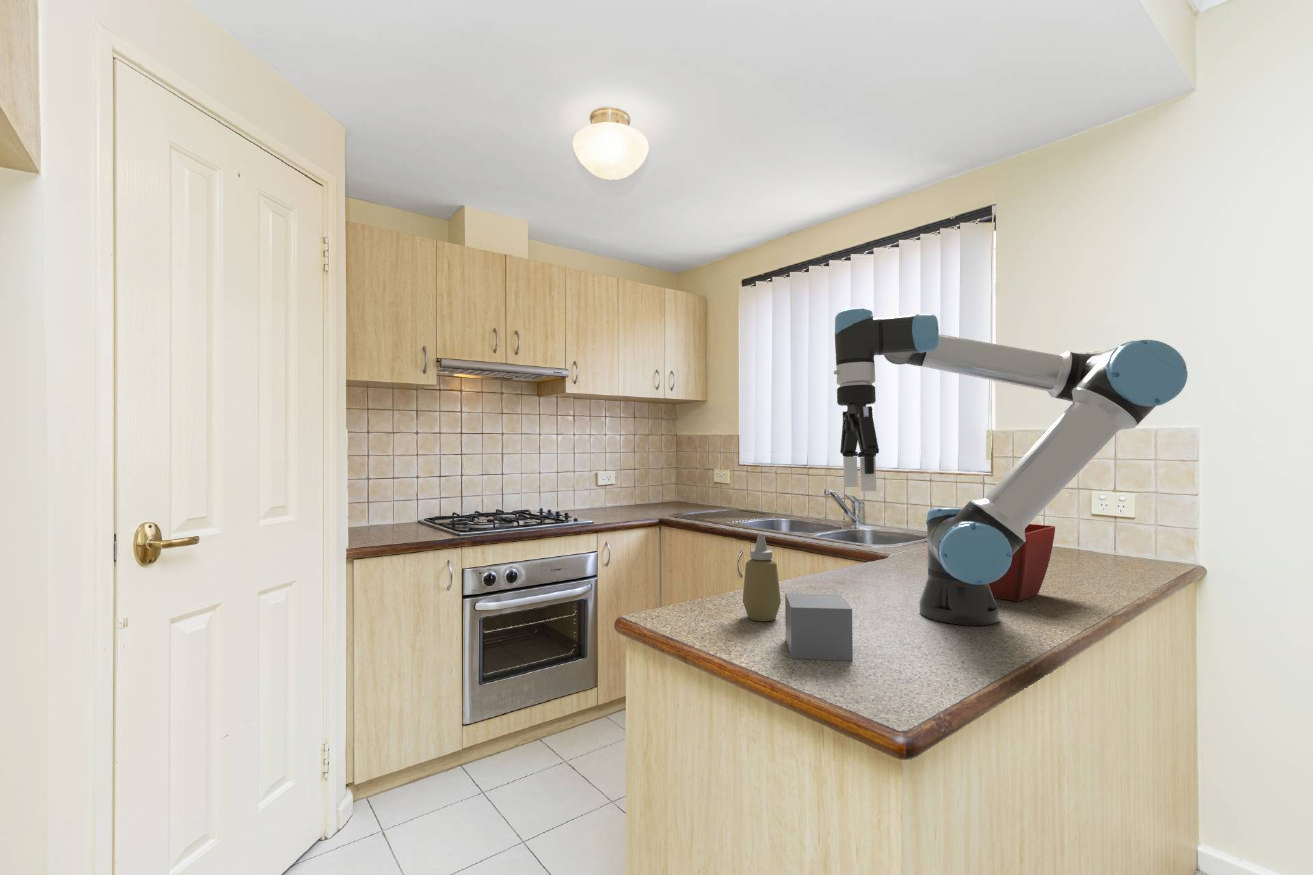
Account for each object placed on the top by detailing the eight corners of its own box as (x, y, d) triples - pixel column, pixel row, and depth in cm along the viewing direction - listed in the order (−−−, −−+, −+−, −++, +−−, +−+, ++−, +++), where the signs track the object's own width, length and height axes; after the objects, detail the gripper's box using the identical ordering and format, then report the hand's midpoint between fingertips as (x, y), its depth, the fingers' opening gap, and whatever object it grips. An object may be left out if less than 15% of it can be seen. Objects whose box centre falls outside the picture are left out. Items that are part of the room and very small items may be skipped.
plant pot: (942, 592, 149) (941, 524, 149) (977, 581, 160) (976, 519, 161) (1026, 607, 134) (1025, 533, 134) (1058, 594, 145) (1057, 526, 146)
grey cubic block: (841, 641, 111) (840, 594, 111) (852, 660, 101) (852, 608, 101) (785, 639, 112) (785, 592, 112) (791, 658, 102) (791, 607, 102)
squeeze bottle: (781, 624, 121) (780, 536, 122) (741, 622, 123) (740, 535, 123) (780, 614, 129) (780, 531, 130) (743, 612, 131) (743, 530, 131)
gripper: (824, 392, 135) (827, 485, 134) (852, 378, 110) (856, 493, 109) (858, 391, 134) (861, 484, 133) (893, 377, 109) (898, 492, 109)
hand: (859, 489), depth 121 cm, fingers open, 13 cm apart
